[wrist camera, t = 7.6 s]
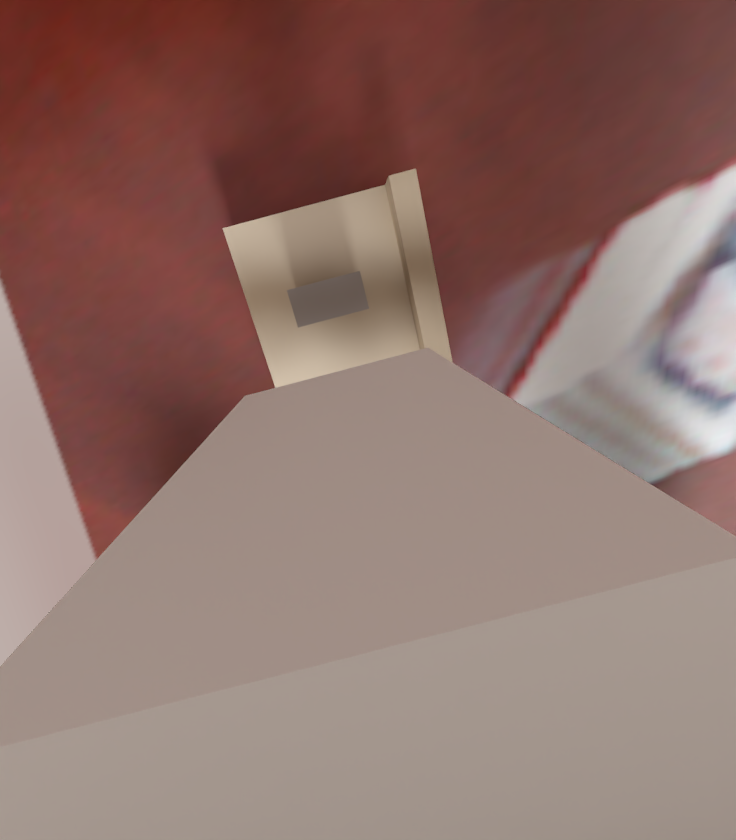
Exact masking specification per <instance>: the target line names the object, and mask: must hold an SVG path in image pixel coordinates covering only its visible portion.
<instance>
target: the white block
mask: <svg viewBox="0 0 736 840" xmlns="http://www.w3.org/2000/svg"><path fill="white" fill-rule="evenodd" d="M0 840H736V536H734V535H733V534H731V533H729V532H728V531H726V530H724V529H723V528H721V527H720V526H718V525H716V524H715V523H713V522H711V521H710V520H708V519H707V518H705V517H703V516H702V515H700V514H698V513H697V512H695V511H693V510H692V509H690V508H689V507H687V506H685V505H684V504H682V503H680V502H679V501H677V500H676V499H674V498H672V497H671V496H669V495H667V494H666V493H664V492H662V491H661V490H659V489H658V488H656V487H654V486H653V485H651V484H649V483H648V482H646V481H645V480H643V479H641V478H640V477H638V476H636V475H635V474H633V473H631V472H630V471H628V470H627V469H625V468H623V467H622V466H620V465H618V464H617V463H615V462H614V461H612V460H610V459H609V458H607V457H605V456H604V455H602V454H600V453H599V452H597V451H596V450H594V449H592V448H591V447H589V446H587V445H586V444H584V443H583V442H581V441H579V440H578V439H576V438H574V437H573V436H571V435H569V434H568V433H566V432H565V431H563V430H561V429H560V428H558V427H556V426H555V425H553V424H552V423H550V422H548V421H547V420H545V419H543V418H542V417H540V416H539V415H537V414H535V413H534V412H532V411H530V410H529V409H527V408H525V407H524V406H522V405H521V404H519V403H517V402H516V401H514V400H512V399H511V398H509V397H508V396H506V395H504V394H503V393H501V392H499V391H498V390H496V389H494V388H493V387H491V386H490V385H488V384H486V383H485V382H483V381H481V380H480V379H478V378H477V377H475V376H473V375H472V374H470V373H468V372H467V371H465V370H463V369H462V368H460V367H459V366H457V365H455V364H454V363H452V362H450V361H449V360H447V359H446V358H444V357H442V356H441V355H439V354H437V353H436V352H434V351H432V350H431V349H429V348H425V349H421V350H417V351H413V352H409V353H406V354H402V355H398V356H394V357H390V358H387V359H383V360H379V361H375V362H372V363H368V364H364V365H360V366H356V367H353V368H349V369H345V370H341V371H337V372H334V373H330V374H326V375H322V376H318V377H315V378H311V379H307V380H303V381H300V382H296V383H292V384H288V385H284V386H281V387H277V388H273V389H269V390H265V391H262V392H258V393H254V394H250V395H247V396H244V397H243V398H242V400H241V401H240V402H239V403H238V404H237V405H236V406H235V407H234V408H233V410H232V411H231V412H230V413H229V414H228V415H227V416H226V417H225V418H224V420H223V421H222V422H221V423H220V424H219V425H218V426H217V427H216V428H215V429H214V431H213V432H212V433H211V434H210V435H209V436H208V437H207V438H206V439H205V441H204V442H203V443H202V444H201V445H200V446H199V447H198V448H197V449H196V450H195V452H194V453H193V454H192V455H191V456H190V457H189V458H188V459H187V460H186V462H185V463H184V464H183V465H182V466H181V467H180V468H179V469H178V470H177V472H176V473H175V474H174V475H173V476H172V477H171V478H170V479H169V480H168V481H167V483H166V484H165V485H164V486H163V487H162V488H161V489H160V490H159V491H158V493H157V494H156V495H155V496H154V497H153V498H152V499H151V500H150V501H149V502H148V504H147V505H146V506H145V507H144V508H143V509H142V510H141V511H140V512H139V514H138V515H137V516H136V517H135V518H134V519H133V520H132V521H131V522H130V524H129V525H128V526H127V527H126V528H125V529H124V530H123V531H122V532H121V533H120V535H119V536H118V537H117V538H116V539H115V540H114V541H113V542H112V543H111V545H110V546H109V547H108V548H107V549H106V550H105V551H104V552H103V553H102V555H101V556H100V557H99V558H98V559H97V560H96V561H95V562H94V563H93V564H92V566H91V567H90V568H89V569H88V570H87V571H86V572H85V573H84V574H83V576H82V577H81V578H80V579H79V580H78V581H77V582H76V583H75V584H74V585H73V587H72V588H71V589H70V590H69V591H68V592H67V593H66V594H65V595H64V597H63V598H62V599H61V600H60V601H59V602H58V603H57V604H56V605H55V607H54V608H53V609H52V610H51V611H50V612H49V613H48V614H47V615H46V616H45V618H44V619H43V620H42V621H41V622H40V623H39V624H38V626H37V627H36V628H35V629H34V630H33V631H32V632H31V633H30V634H29V635H28V636H27V638H26V639H25V640H24V641H23V642H22V643H21V644H20V645H19V646H18V648H17V649H16V650H15V651H14V652H13V653H12V654H11V655H10V656H9V657H8V659H7V660H6V661H5V662H4V663H3V664H2V665H1V666H0Z"/></svg>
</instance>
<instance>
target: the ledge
mask: <svg viewBox="0 0 736 840" xmlns="http://www.w3.org/2000/svg"><path fill="white" fill-rule="evenodd" d="M223 231H224V234H225V237H226V240H227V243H228V246H229V249H230V252H231V255H232V258H233V261H234V264H235V267H236V270H237V273H238V276H239V279H240V282H241V285H242V288H243V291H244V294H245V297H246V300H247V303H248V306H249V310H250V313H251V316H252V319H253V322H254V325H255V328H256V331H257V334H258V337H259V340H260V343H261V346H262V349H263V352H264V355H265V358H266V361H267V364H268V367H269V370H270V373H271V376H272V379H273V382H274V385H275V388H277V387H281V386H284V385H288V384H292V383H296V382H300V381H303V380H307V379H311V378H315V377H318V376H322V375H326V374H330V373H334V372H337V371H341V370H345V369H349V368H353V367H356V366H360V365H364V364H368V363H372V362H375V361H379V360H383V359H387V358H390V357H394V356H398V355H402V354H406V353H409V352H413V351H417V350H421V349H425V348H429V349H431V350H432V351H434V352H436V353H437V354H439V355H441V356H442V357H444V358H446V359H447V360H449V361H450V362H452V357H451V351H450V346H449V341H448V336H447V330H446V325H445V320H444V315H443V309H442V304H441V299H440V293H439V288H438V283H437V278H436V272H435V267H434V262H433V256H432V251H431V246H430V241H429V235H428V230H427V225H426V220H425V214H424V209H423V204H422V198H421V193H420V188H419V183H418V177H417V172H416V169H412V170H408V171H404V172H401V173H397V174H393V175H390V176H388V179H387V181H386V183H385V185H382V186H379V187H375V188H371V189H367V190H364V191H360V192H356V193H352V194H349V195H345V196H341V197H338V198H334V199H330V200H326V201H323V202H319V203H315V204H311V205H308V206H304V207H300V208H297V209H293V210H289V211H285V212H282V213H278V214H274V215H270V216H267V217H263V218H259V219H256V220H252V221H248V222H244V223H241V224H237V225H233V226H230V227H226V228H223ZM452 363H453V362H452Z"/></svg>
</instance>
